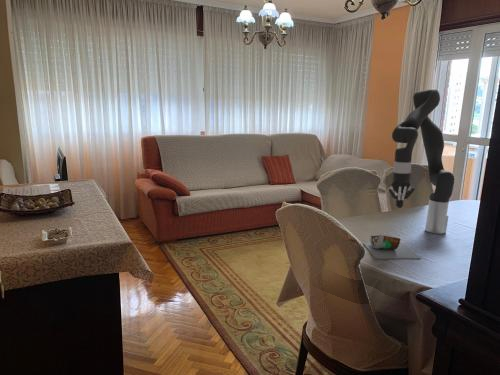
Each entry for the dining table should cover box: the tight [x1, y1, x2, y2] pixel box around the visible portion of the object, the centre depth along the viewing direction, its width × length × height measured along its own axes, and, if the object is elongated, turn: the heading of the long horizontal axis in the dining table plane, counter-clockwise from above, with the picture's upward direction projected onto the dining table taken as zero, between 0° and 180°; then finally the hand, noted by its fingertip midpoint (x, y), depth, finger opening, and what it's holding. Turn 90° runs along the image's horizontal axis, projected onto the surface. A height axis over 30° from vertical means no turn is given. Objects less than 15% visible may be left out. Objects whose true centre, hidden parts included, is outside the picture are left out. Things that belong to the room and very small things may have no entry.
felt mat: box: [362, 242, 422, 260], centre depth 170 cm, size 20×17×1 cm
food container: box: [369, 234, 401, 249], centre depth 170 cm, size 12×6×10 cm
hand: (399, 207), depth 173 cm, fingers closed
